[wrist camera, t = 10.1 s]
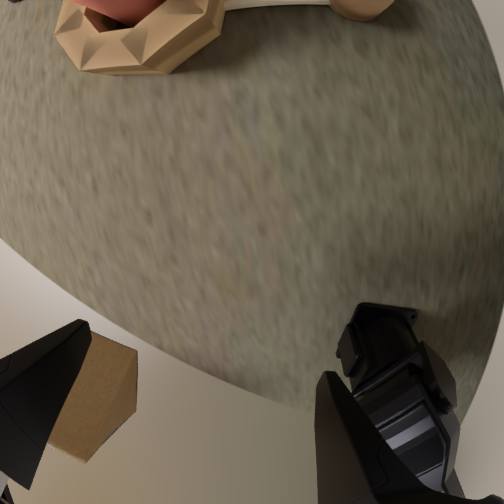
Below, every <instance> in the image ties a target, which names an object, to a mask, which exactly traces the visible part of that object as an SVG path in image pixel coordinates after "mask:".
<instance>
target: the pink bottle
mask: <svg viewBox="0 0 504 504" xmlns="http://www.w3.org/2000/svg"><path fill="white" fill-rule="evenodd" d="M70 1H73V2H75V3H78V4H80V5H83V6H85V7H88V8H90V9H92V10H95V11H97V12H99V13H102V14H104V15H106V16H108V17H110V18H112V19H115V20H117V21H119V22H121V23H123V24H125V25H127V26H129V27H131V28H134V27H135V26H136V25H137V24H138V23H139V22H141V21H142V20H143V19H144V18H145V17H147V16H148V15H149V14H150V13H151V12H153V11H154V10H155V9H156V8H158V7H159V6H160V5H162V4H163V3H164V2H165V1H167V0H70Z"/></svg>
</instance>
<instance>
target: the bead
mask: <svg viewBox="0 0 504 504" xmlns="http://www.w3.org/2000/svg"><path fill="white" fill-rule="evenodd" d="M225 1H227V0H167V1H165V2H164V3H163V4H162V5H160V6H159V7H158V8H156V9H155V10H154V11H153V12H151V13H150V14H149V15H148V16H147V17H145V18H144V19H143V20H142V21H141V22H139V23H138V24H137V25H136V26H135V27H134V28H129V29H121V30H118V29H117V28H116V26H117V22H118V21H117V20H115V19H112V18H110V17H108V16H106V15H104V14H102V13H99V12H97V11H95V10H92V9H90V8H88V7H85V6H83V5H80V4H78V3H75V2H73V1H70V0H64V1H63V5H62V8H61V11H60V15H59V18H58V22H57V26H56V30H55V34H54V35H55V37H56V38H57V40H58V41H59V42H60V44H61V45H62V47H63V48H64V50H65V51H66V52H67V54H68V55H69V57H70V58H71V59H72V61H73V62H74V64H75V65H76V66H77V68H78V69H79V70H80V71H84V72H92V73H99V74H105V75H111V76H120V75H140V74H169V73H171V72H172V71H173V70H174V69H175V68H177V67H178V66H179V65H180V64H182V63H183V62H184V61H185V60H187V59H188V58H189V57H191V56H192V55H193V54H195V53H196V52H197V51H199V50H200V49H201V48H203V47H204V46H205V45H207V44H208V43H210V42H211V41H212V40H214V39H215V38H217V37H218V36H220V35H221V30H222V26H223V21H224V16H225V12H226V11H224V4H225Z"/></svg>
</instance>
